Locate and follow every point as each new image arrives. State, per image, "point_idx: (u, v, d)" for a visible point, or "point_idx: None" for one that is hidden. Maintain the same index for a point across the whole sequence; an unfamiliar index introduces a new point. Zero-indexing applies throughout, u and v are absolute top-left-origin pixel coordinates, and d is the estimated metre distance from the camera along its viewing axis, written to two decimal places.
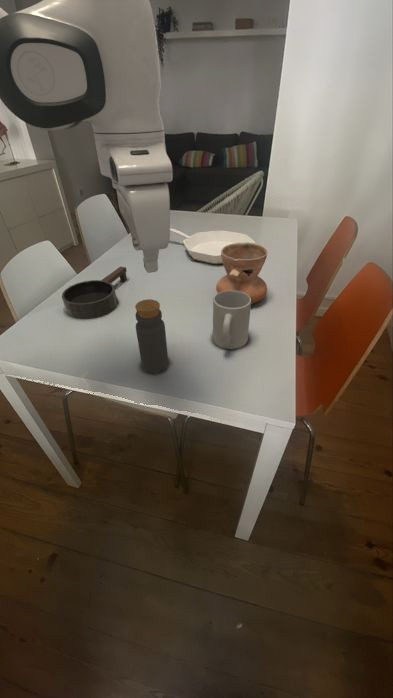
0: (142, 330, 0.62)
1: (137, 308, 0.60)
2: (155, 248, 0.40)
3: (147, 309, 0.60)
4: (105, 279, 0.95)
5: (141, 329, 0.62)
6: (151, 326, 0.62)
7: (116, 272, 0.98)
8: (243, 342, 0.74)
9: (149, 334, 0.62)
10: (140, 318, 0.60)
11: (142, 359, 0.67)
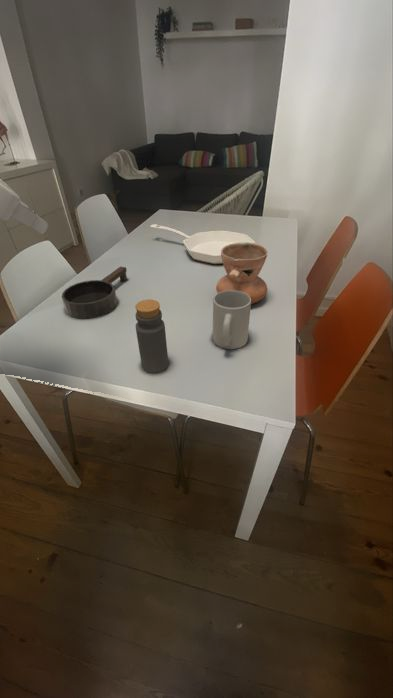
0: (142, 330, 0.62)
1: (137, 308, 0.60)
2: None
3: (147, 309, 0.60)
4: (105, 279, 0.95)
5: (141, 329, 0.62)
6: (151, 326, 0.62)
7: (116, 272, 0.98)
8: (243, 342, 0.74)
9: (149, 334, 0.62)
10: (140, 318, 0.60)
11: (142, 359, 0.67)
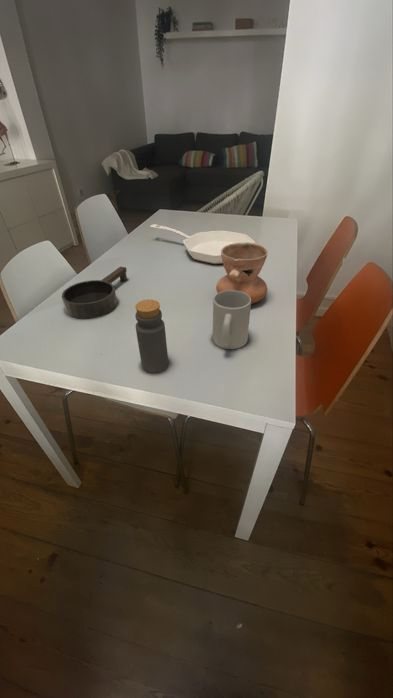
0: (142, 330, 0.62)
1: (136, 308, 0.60)
2: None
3: (147, 309, 0.60)
4: (105, 279, 0.95)
5: (141, 329, 0.62)
6: (151, 326, 0.62)
7: (116, 272, 0.98)
8: (243, 342, 0.74)
9: (149, 334, 0.62)
10: (140, 318, 0.60)
11: (142, 359, 0.67)
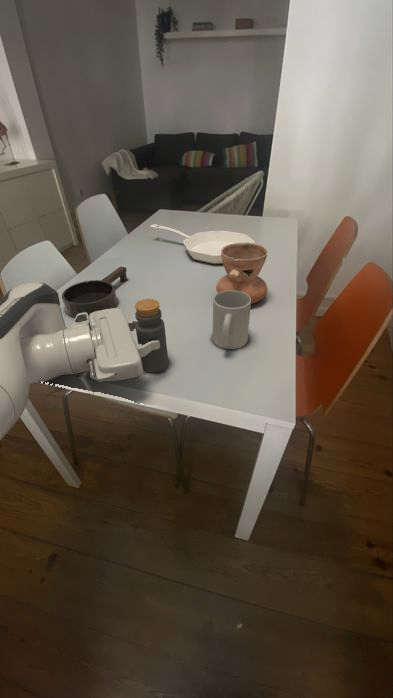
0: (142, 330, 0.62)
1: (136, 307, 0.60)
2: None
3: (146, 308, 0.60)
4: (105, 279, 0.95)
5: (141, 328, 0.62)
6: (151, 326, 0.62)
7: (116, 272, 0.98)
8: (243, 342, 0.74)
9: (149, 333, 0.62)
10: (140, 317, 0.60)
11: (142, 359, 0.67)
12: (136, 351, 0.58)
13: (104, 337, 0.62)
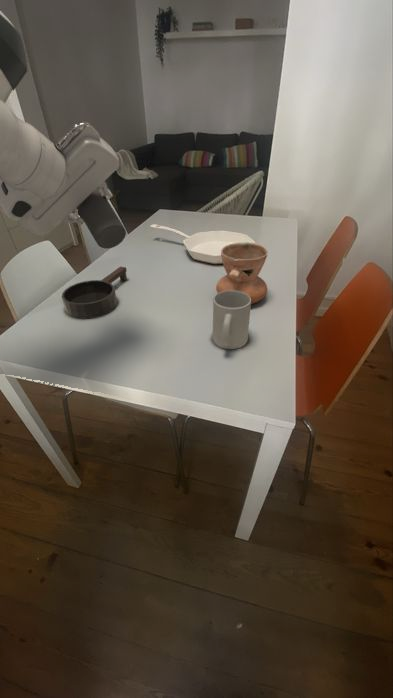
0: None
1: None
2: None
3: None
4: (105, 279, 0.95)
5: None
6: None
7: (116, 272, 0.98)
8: (243, 342, 0.74)
9: None
10: None
11: (99, 215, 0.56)
12: None
13: None
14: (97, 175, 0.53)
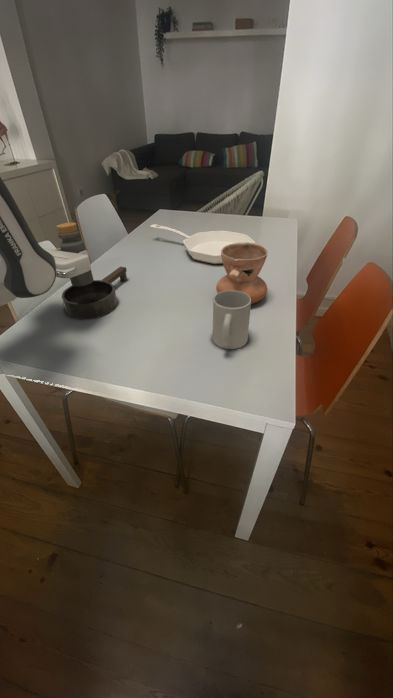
0: (70, 245, 0.78)
1: (60, 226, 0.76)
2: None
3: (69, 225, 0.77)
4: (105, 279, 0.95)
5: (69, 244, 0.78)
6: (76, 240, 0.79)
7: (116, 272, 0.98)
8: (243, 342, 0.74)
9: (77, 246, 0.79)
10: (66, 234, 0.77)
11: None
12: (79, 253, 0.75)
13: None
14: None
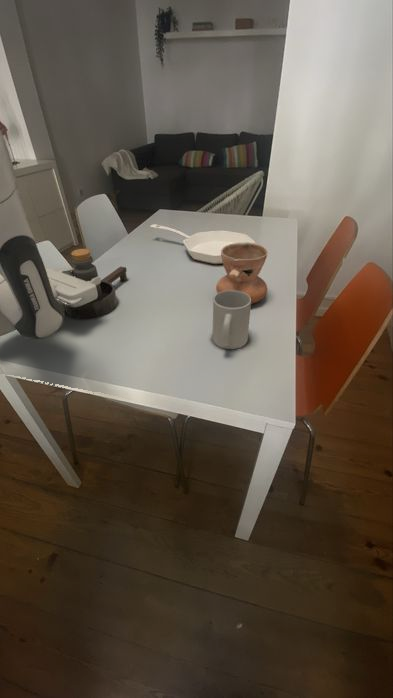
0: (83, 272, 0.82)
1: (75, 255, 0.80)
2: None
3: (83, 253, 0.80)
4: (105, 279, 0.95)
5: (82, 271, 0.82)
6: (88, 267, 0.83)
7: (116, 272, 0.98)
8: (243, 342, 0.74)
9: (89, 273, 0.83)
10: (80, 262, 0.81)
11: None
12: (88, 282, 0.79)
13: None
14: None
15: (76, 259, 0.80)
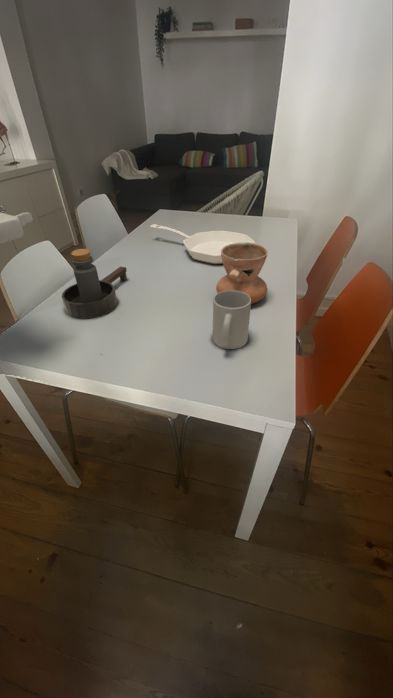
0: (83, 272, 0.82)
1: (75, 255, 0.80)
2: None
3: (83, 253, 0.80)
4: (105, 279, 0.95)
5: (82, 271, 0.82)
6: (88, 267, 0.83)
7: (116, 272, 0.98)
8: (243, 342, 0.74)
9: (89, 273, 0.83)
10: (80, 262, 0.81)
11: (86, 298, 0.86)
12: (9, 215, 0.59)
13: None
14: None
15: (76, 259, 0.80)
